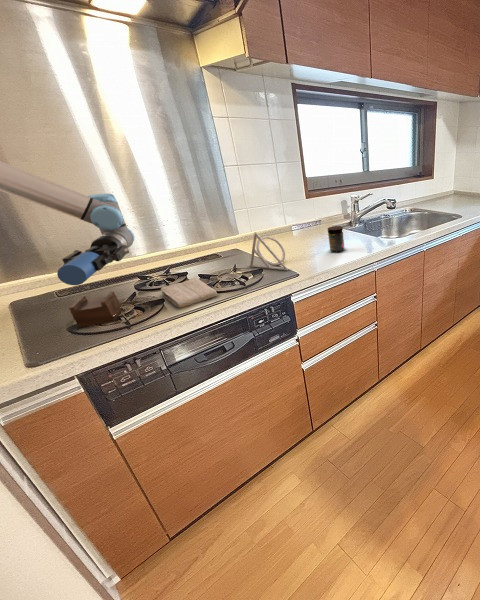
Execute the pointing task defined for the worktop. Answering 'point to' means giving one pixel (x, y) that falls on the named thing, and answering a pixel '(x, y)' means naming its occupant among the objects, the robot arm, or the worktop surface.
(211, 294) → the washcloth
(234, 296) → the worktop surface
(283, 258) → the wire frame
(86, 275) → the tube
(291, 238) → the worktop surface
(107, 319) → the cradle
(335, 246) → the supplement container
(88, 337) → the worktop surface
